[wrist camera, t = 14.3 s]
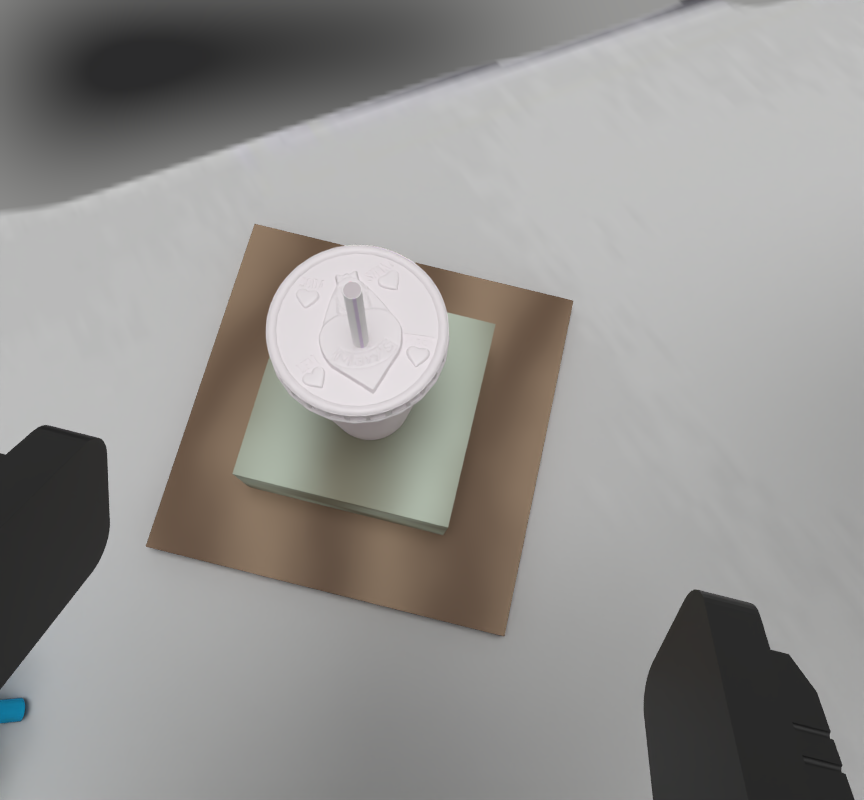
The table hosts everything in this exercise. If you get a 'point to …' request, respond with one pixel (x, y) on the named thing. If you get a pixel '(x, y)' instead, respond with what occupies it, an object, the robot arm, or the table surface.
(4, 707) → the blue knobby piece
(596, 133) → the table surface
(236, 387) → the plinth
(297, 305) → the smoothie
